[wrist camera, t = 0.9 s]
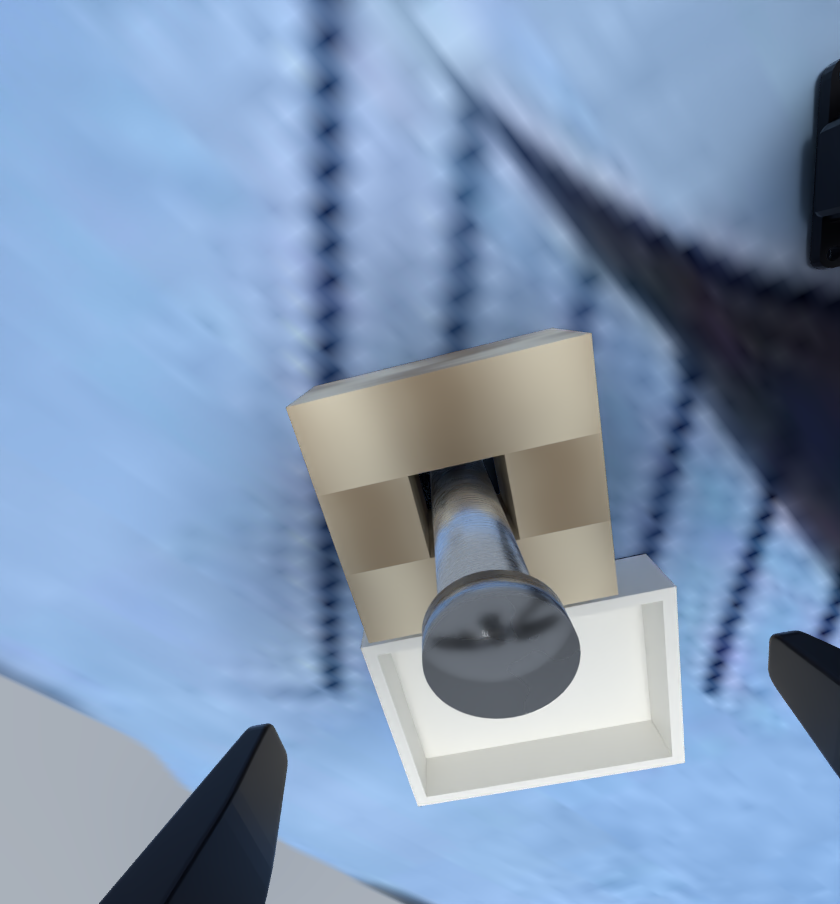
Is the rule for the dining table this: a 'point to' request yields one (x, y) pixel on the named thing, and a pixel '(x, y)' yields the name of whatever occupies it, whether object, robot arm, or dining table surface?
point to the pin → (489, 608)
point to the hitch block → (457, 442)
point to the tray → (563, 720)
